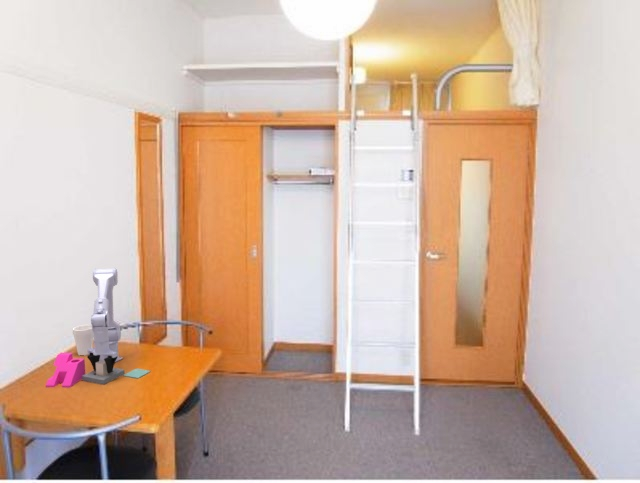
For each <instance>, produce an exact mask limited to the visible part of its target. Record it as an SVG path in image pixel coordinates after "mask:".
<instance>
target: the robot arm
mask: <svg viewBox="0 0 640 483" xmlns="http://www.w3.org/2000/svg"><path fill="white" fill-rule="evenodd" d="M92 280H93V282H94V285H96V286H97V299H95V300H94V304H93V306H94V307H93V314H92V315H91V318H90V323H91V324H90V325H92V331H93V332H94V338H93V348H90V349H87V350H88V354H89V355H86V356H87V359H88V360H89V362H90V363H91V366H92V368H93V370H94V371H96V362H98V361H101V360H104V361H105V363H106V366H107V372H108V373H111V372H113V368H115V367H114V366H115V363H116V362H119V361H120V360H121V361H122V360H123V359H124V357H122V356H119V341H120V340H121V338H122V337H121V336H122V332H121V331H122V330H121V325H120V323H118V322H116V321H115V320H114V299H113V298H114V295H113V294H114V293H113V291H114V287H115V286H117V285H118V281H119V280H118V269H117V268H115V267H114V268H95V269H93V270H92Z"/></svg>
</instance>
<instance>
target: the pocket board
mask: <svg viewBox="0 0 640 483" xmlns="http://www.w3.org/2000/svg"><path fill="white" fill-rule="evenodd" d="M125 372H126V371H125V369H123V368H117V367H113V372H111V373H109V374H107V375H105V376H98V375H96V371H94V369H93V370H91V371H90V372H87V373H85V375H83V376H82V379H81V381H83V382H87V383H93V384H97V385H106V384H108V383H110V382H112V381H113V380H116V379H117V378H118V379H119V378H120V377H122V376H123V375H124V374H126V373H125Z"/></svg>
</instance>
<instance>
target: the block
mask: <svg viewBox="0 0 640 483" xmlns="http://www.w3.org/2000/svg"><path fill="white" fill-rule="evenodd" d="M107 374H109V373H108V372H107V366H106V363H105V361H104V360H101V361H98V362H96V375H98V376H105V375H107Z"/></svg>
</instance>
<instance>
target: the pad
mask: <svg viewBox="0 0 640 483" xmlns="http://www.w3.org/2000/svg"><path fill="white" fill-rule="evenodd" d="M150 373H152V372H151V370H148V369H147V370H146V369H141V368H135V369H133V370H130V371H129V372H127V373H125V374H124V375H122V376H123V377H127V378H132V379H137V380H139V379H140V378H143V377H144V376H146V375H148V374H150Z"/></svg>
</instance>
